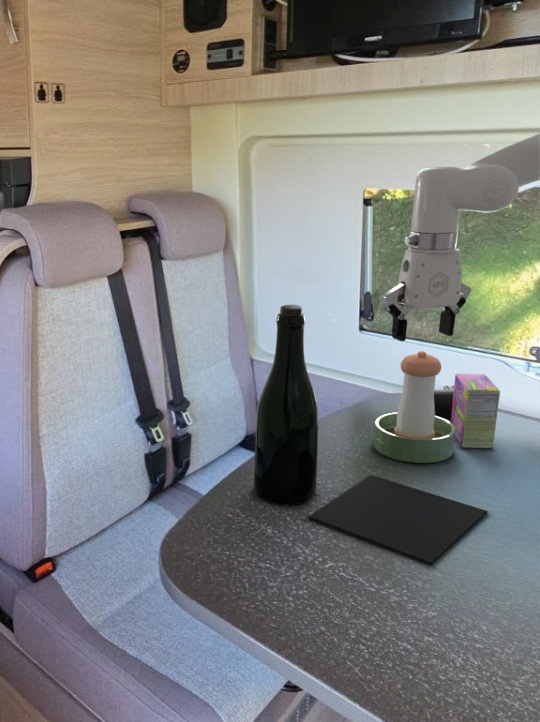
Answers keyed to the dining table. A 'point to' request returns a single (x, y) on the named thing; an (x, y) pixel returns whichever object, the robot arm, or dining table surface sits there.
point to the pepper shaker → (417, 397)
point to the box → (474, 410)
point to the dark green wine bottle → (287, 420)
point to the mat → (400, 518)
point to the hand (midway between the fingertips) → (422, 336)
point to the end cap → (444, 402)
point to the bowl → (414, 441)
